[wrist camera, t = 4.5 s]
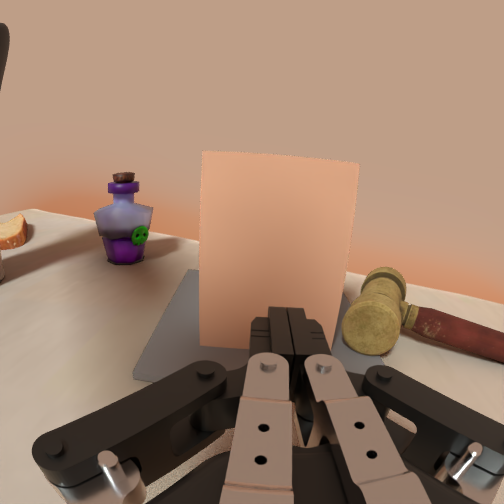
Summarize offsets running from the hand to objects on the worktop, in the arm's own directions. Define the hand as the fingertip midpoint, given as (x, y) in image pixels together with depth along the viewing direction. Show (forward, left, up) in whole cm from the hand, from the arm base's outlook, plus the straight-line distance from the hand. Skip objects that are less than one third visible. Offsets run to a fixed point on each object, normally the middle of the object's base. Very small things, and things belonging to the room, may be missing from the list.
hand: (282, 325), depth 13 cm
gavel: (+17, +8, -7) cm, 20 cm away
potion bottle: (-19, +28, -8) cm, 34 cm away
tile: (0, +9, -7) cm, 11 cm away
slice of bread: (-51, +35, -8) cm, 62 cm away
